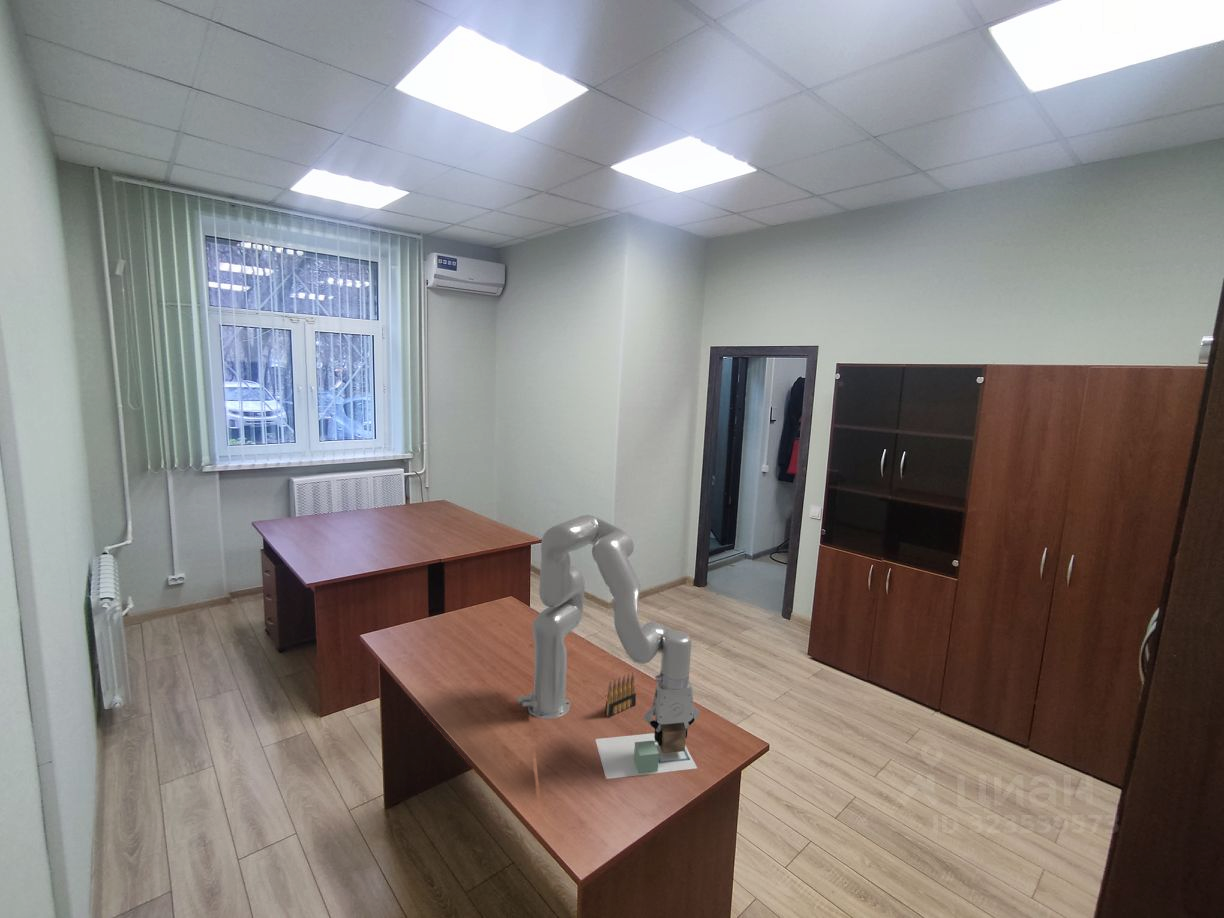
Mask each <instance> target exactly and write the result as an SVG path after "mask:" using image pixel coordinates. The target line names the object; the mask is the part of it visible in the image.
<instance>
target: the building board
mask: <svg viewBox="0 0 1224 918" xmlns="http://www.w3.org/2000/svg"><path fill="white" fill-rule="evenodd" d="M654 734H655V732H654V733H653V732H652V733H645V734H644V733H642V734H632V735H624V736H622V735H621V736H613V737H603V738H595V743H596V746H597V747H596V748H597V751H598V755H599V757H600V761H601V765H602V768H603V772H604V775H605V779H606V780H610V779H618V778H629V777H636V776H645V775H653V774H661V773H668V772H669V773H670V772H679V771H686V770H695V769H696V770H697V769H698V767H697V764H696V763H695V761H694V759H693V757H692V756H691V754H690V752H689V749H688V747H687V745H686V744H685V751H681V752H672V753H663V752H662V750H661V748H660V746H659V745H658V743H657V741H655V738H654ZM643 741H654V743H655V746H656V748H657V750H658V752H659V761H658V771H657V772H648V773H640V774H639V773H638V770H637V767H636V764H635V762H634V748H635V742H643Z"/></svg>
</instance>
